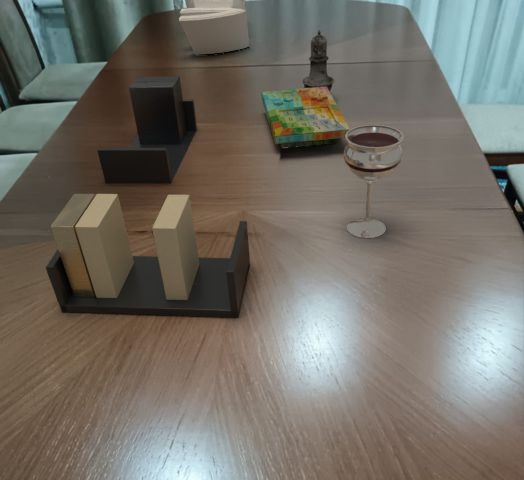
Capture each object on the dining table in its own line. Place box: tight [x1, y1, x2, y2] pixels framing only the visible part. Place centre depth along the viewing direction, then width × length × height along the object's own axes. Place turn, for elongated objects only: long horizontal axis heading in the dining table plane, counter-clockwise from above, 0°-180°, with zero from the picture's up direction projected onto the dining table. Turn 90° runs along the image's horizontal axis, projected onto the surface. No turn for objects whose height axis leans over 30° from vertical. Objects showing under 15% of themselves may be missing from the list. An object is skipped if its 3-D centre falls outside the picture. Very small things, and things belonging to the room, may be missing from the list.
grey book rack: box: [96, 75, 198, 185], centre depth 89 cm, size 20×10×10 cm, turn 174°
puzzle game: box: [260, 86, 351, 149], centre depth 96 cm, size 12×5×20 cm
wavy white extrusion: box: [178, 0, 250, 55], centre depth 139 cm, size 35×16×11 cm, turn 1°
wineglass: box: [343, 124, 405, 239], centre depth 70 cm, size 7×7×12 cm
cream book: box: [151, 194, 200, 300], centre depth 62 cm, size 2×7×9 cm, turn 174°
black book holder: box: [45, 193, 251, 319], centre depth 63 cm, size 20×10×10 cm, turn 84°
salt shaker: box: [301, 29, 335, 93], centre depth 104 cm, size 6×6×12 cm
